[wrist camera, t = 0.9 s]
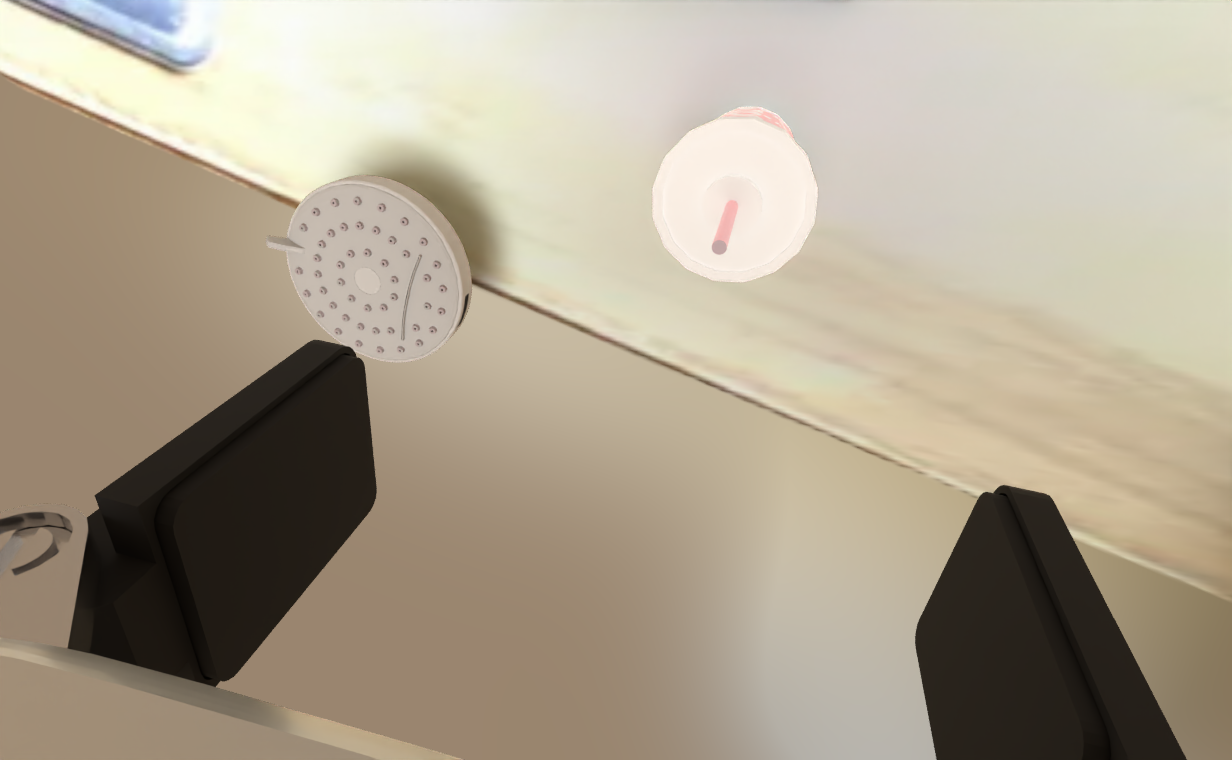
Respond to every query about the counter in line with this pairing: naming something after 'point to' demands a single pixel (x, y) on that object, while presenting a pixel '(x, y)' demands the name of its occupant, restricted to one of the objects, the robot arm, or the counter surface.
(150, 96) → the counter surface
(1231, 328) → the counter surface
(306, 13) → the counter surface
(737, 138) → the beverage cup
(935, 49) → the counter surface
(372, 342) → the showerhead
